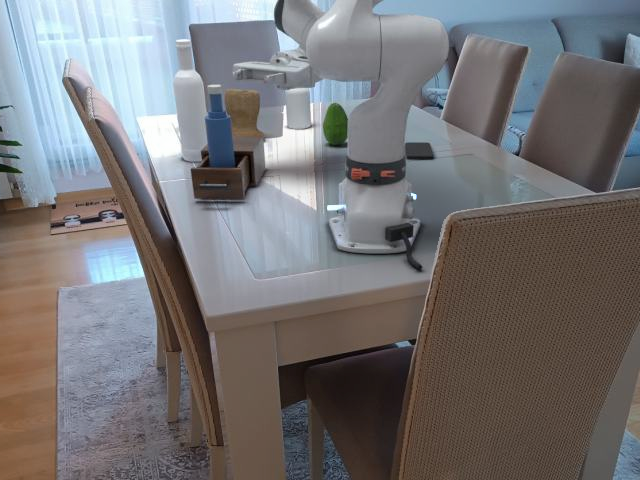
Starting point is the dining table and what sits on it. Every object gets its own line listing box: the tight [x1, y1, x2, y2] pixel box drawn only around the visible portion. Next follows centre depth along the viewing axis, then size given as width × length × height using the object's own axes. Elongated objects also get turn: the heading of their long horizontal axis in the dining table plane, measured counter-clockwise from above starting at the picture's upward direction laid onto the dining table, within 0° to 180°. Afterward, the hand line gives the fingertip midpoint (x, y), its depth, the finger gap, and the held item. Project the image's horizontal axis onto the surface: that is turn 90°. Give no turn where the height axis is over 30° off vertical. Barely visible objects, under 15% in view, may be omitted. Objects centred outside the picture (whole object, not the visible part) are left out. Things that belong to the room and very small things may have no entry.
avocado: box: [322, 102, 349, 146], centre depth 188 cm, size 8×8×12 cm
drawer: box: [190, 154, 252, 200], centre depth 148 cm, size 18×11×7 cm, turn 177°
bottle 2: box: [205, 84, 235, 168], centre depth 145 cm, size 6×6×22 cm
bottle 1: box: [172, 38, 208, 163], centre depth 171 cm, size 8×8×30 cm
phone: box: [404, 141, 434, 160], centre depth 183 cm, size 7×1×15 cm
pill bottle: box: [284, 88, 312, 130], centre depth 208 cm, size 8×8×15 cm
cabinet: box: [201, 136, 266, 188], centre depth 160 cm, size 15×13×9 cm
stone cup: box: [223, 88, 266, 139], centre depth 192 cm, size 15×12×15 cm
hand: (250, 78), depth 148 cm, fingers open, 8 cm apart
